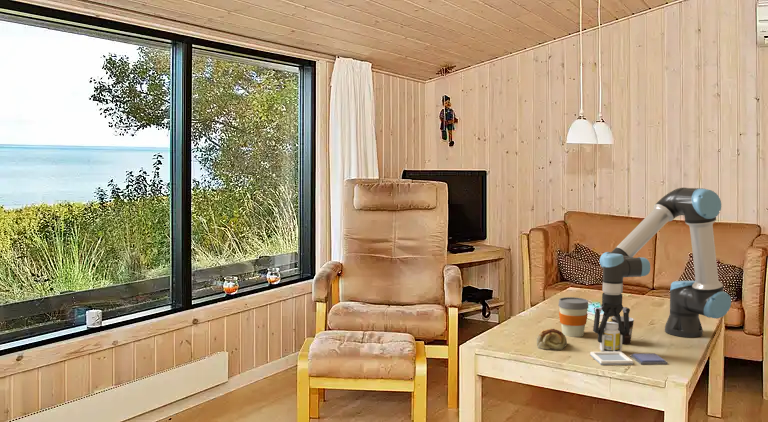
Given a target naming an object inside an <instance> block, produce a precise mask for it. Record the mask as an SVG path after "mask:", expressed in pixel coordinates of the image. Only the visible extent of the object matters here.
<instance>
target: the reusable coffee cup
mask: <svg viewBox="0 0 768 422" xmlns="http://www.w3.org/2000/svg"><path fill="white" fill-rule="evenodd" d="M558 307H559V308H558V309H559V312H558V316H559V323H560V325H561V332H562V333H563V334H564V335H565V337H570V338H579V337H580V338H581V337H583V336H584V334H585V326H586V325H587V322H588V321H587V320H588V315H589V314H588V309H589V300H587V299H586V298H582V297H581V298H580V297H572V296H570V297H569V296H568V297H567V296H566V297H560V298H559V299H558Z"/></svg>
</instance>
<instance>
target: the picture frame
mask: <svg viewBox="0 0 768 422" xmlns="http://www.w3.org/2000/svg"><path fill="white" fill-rule="evenodd" d="M589 354H590V355H589V356H591V358H592V359H594V360H595V361H596V362H597V363H598V364H600V366H615V365H617V366H626V365H627V366H629V365H630V366H631V365H632V366H633V365H634V359H631V357H630V356H627V355H626V354H625V353H624V352H623V351H619V352H604V351H590V352H589Z"/></svg>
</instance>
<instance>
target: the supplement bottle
mask: <svg viewBox="0 0 768 422" xmlns="http://www.w3.org/2000/svg"><path fill="white" fill-rule="evenodd" d="M618 328H619V324H618V323H616V322H612V321H607V323H606V326H605V329H604V331H603V334H604V335H605V337H604V351H603V352H620V351H619V346H620V331H619V330H618Z"/></svg>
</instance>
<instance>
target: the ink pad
mask: <svg viewBox="0 0 768 422" xmlns="http://www.w3.org/2000/svg"><path fill="white" fill-rule="evenodd" d="M629 358H632V360H633V361H636V362H637V363H638V364H640V365H642V366H644V365H646V366H647V365H669V364H668V361H667V360H666V359H664V358H662V357H661V356H659V355H658V354H656V353H632V354H630V356H629Z"/></svg>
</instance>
